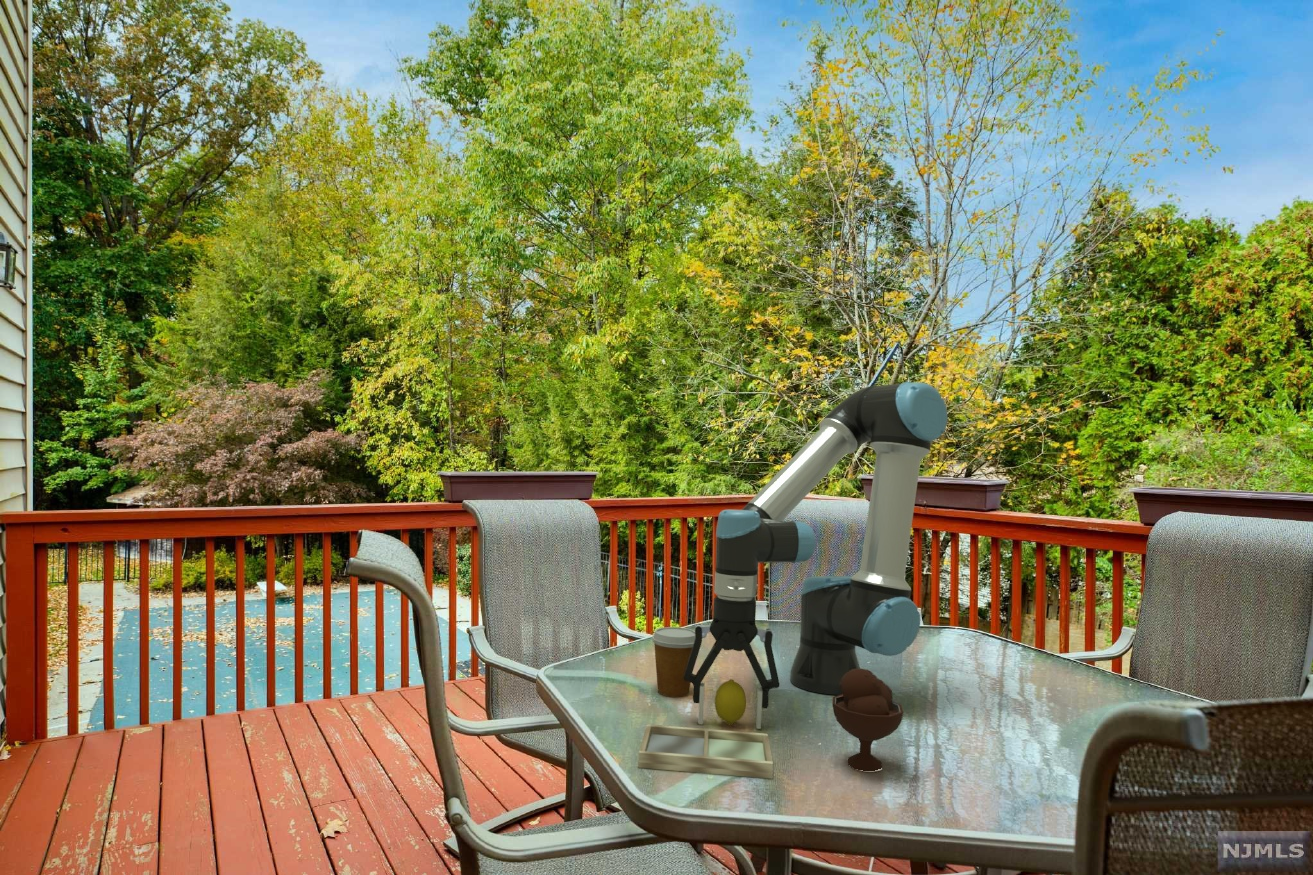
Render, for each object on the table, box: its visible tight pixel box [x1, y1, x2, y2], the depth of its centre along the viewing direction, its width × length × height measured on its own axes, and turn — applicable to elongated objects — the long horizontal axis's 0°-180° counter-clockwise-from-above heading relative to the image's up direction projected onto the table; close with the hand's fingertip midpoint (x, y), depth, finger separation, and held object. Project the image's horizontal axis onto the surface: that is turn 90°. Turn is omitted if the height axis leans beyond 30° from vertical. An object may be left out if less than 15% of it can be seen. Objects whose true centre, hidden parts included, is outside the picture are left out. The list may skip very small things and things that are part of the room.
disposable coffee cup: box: [651, 626, 695, 698], centre depth 147 cm, size 10×10×12 cm
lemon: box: [714, 678, 747, 726], centre depth 130 cm, size 6×6×8 cm
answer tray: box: [637, 724, 774, 779], centre depth 115 cm, size 20×12×2 cm, turn 85°
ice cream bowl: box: [832, 667, 904, 772], centre depth 115 cm, size 11×11×15 cm
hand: (729, 723), depth 130 cm, fingers open, 9 cm apart
